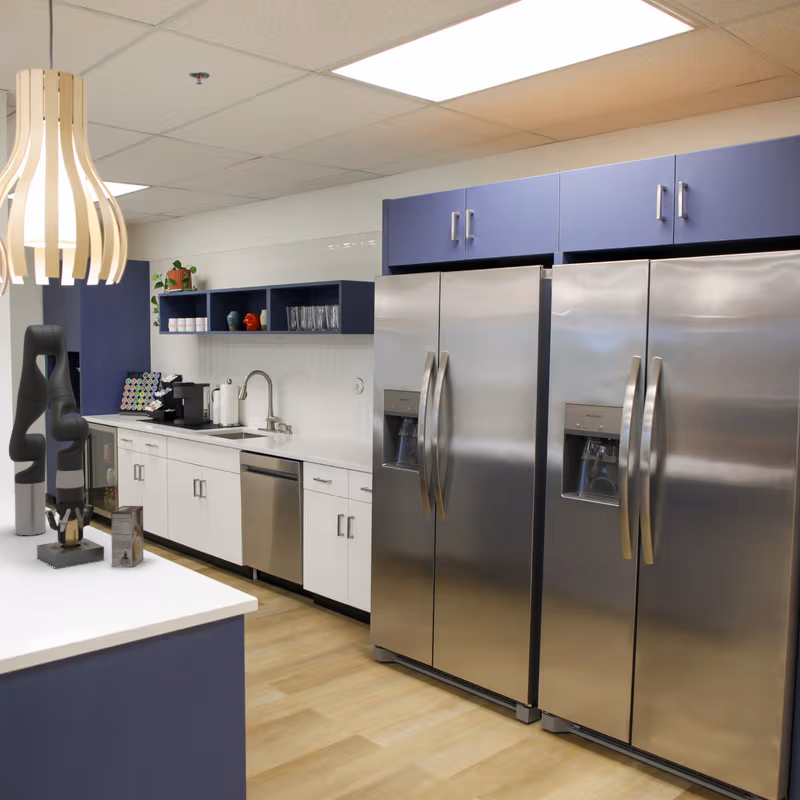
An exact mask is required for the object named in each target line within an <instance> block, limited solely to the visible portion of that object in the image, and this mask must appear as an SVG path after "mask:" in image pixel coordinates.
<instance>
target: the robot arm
mask: <svg viewBox="0 0 800 800" xmlns="http://www.w3.org/2000/svg"><path fill="white" fill-rule="evenodd" d="M23 337H24V338H23V353H22V366H21V373H20V374H21V375H20V379H19V385H18V390H17V396H16V397H17V398H16V407H15V409H16V410H15V417H14V422H13V426H12V430H11V434H10V439H9V445H8V455H9V458H10V460H11V462H15V463H27V462H32V464H31V465H30V466H29V467H27V468H25V469H23V470H21V471H19V472H17V473H15V474H14V512H15V513H14V521H15V522H14V523H15V525H14V527H15V529H14V532H15V533H16V534H15V535H17V534H18V535H17V536H22V535H29V536H36V534H38V535H42V534H44V533H46V530H47V527H46V526H47V524H46V519H47V521H48V524H49V527H50V530H53V531H54V532H55V531H56V532H57V542H60V543H61V544H65V531H64V528H65V525H66V524H67V520H69V519H77V520H78V524H79V541H81V539H83V538H84V528H85V527H87V526H90V523H91V520H92V517H93V513H94V510H95V506H94V505H91V504H85V502H84V499H85V492H84V491H85V488H84V487H85V486H84V485H85V479H84V478H85V476H84V469H83V466H84V463H83V460H84V459H83V457H84V449H85V447H86V442H87V439H88V437H89V432H90V425H89V421H87V419H86V418H85V417H84V416H67V417H65V416H66V415H68V414H71V413H73V412H74V411H75V410H76V409H77V402H76V398H75V395H74V390H73V386H72V383H71V382H72V381H71V377H70V376H71V375H70V367H69V366H70V365H69V364H70V363H69V356H68V354H69V353H68V345H67V338H66V333H65V331H64V329H63V327H61V326H60V325H59V324H58V325H57V324H31V325H28V326H27V327H26V329H25V332H24V336H23ZM38 356H55V365H54V368H53V369H52V372H51V374H50V377H49V378H48V380H47V378H46V377H45V375H44V374H43V372H42V371H41V369H40V368H39V365H38V362H37V357H38ZM49 405H50V424H49V434H50V437H51V438H52V440H53V441H55V442H58V443H59V442H60V443H61V442H63V443H64V442H72V444H71V445H70V446H68V447H67V448H63V449H61V450H58V451H57V453H56V476H55V500H56V501H55V502H56V503H55V507H54V508H52V509H50V510H47V509H46V464H47V463H46V462H47V461H46V460H47V458H46V457H47V440H46V437H45V435H44V434H43V433H41V432H40V433H39V432H37V433H27V432H28V430H29V429H30V427H32V425H33V424H34V423H35V422H37V420H38V419H39V418H40V417H41V416H42V415H43V414H44V413H45V412H46V411H47V409H48V406H49ZM63 416H64V417H63ZM83 511H84V514H83V515H84V516H83V518H82V513H83ZM56 515H58V516H59V517H58V519H57V521H56V518H55V517H56ZM41 533H42V534H41Z"/></svg>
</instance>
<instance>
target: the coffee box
mask: <svg viewBox="0 0 800 800" xmlns="http://www.w3.org/2000/svg"><path fill="white" fill-rule="evenodd" d="M110 516H111V517H110V518H111V522H110V523H111V531H110V532H111V566H112V567H114V566H126V567H125V568H127V567H128V568H133V567H134V566H136V565H137V564H138V563H140V562H141V561H142V560H143V559H144V506H143V505H122V506H120V507H118V508H116V509H114V510H112V511H111V512H110ZM132 566H133V567H132Z"/></svg>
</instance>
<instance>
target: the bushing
mask: <svg viewBox="0 0 800 800" xmlns="http://www.w3.org/2000/svg"><path fill="white" fill-rule="evenodd" d="M64 531H65V544H63V548H65V549H68V548H77V547H79V524H78V520H77V519H69V520H67V524H66V525H65V528H64Z"/></svg>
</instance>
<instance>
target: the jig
mask: <svg viewBox="0 0 800 800" xmlns="http://www.w3.org/2000/svg"><path fill="white" fill-rule="evenodd" d="M36 554H37V555H36V556H37V557H36V558H38V560H39V559H40V561H41V562H43V563H45V564H46V563H47V564H46V565H48V564H49V565H48V566H50V565H51V567H52V566H53V567H52V568H54V567H55V568H54V569H56V568H57V569H62V568H61V567H63V568H66V566H68V567H73V566H72V565H74V566H78V565H77V564H79V565H84V564H83V563H85V564H89V563H88V562H90V563H95V562H94V561H96V562H100V561H99V560H102V561H105V546H103V545H102V544H99V543H96V542H94V541H92V540H90V539H88V538H85V537H83V539H81V541H79V547H77V548H68V549H65V548H63V544H61V543H60V542H58V541H55V542H49V543H48V542H47V543H42V544H37V545H36Z"/></svg>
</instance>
